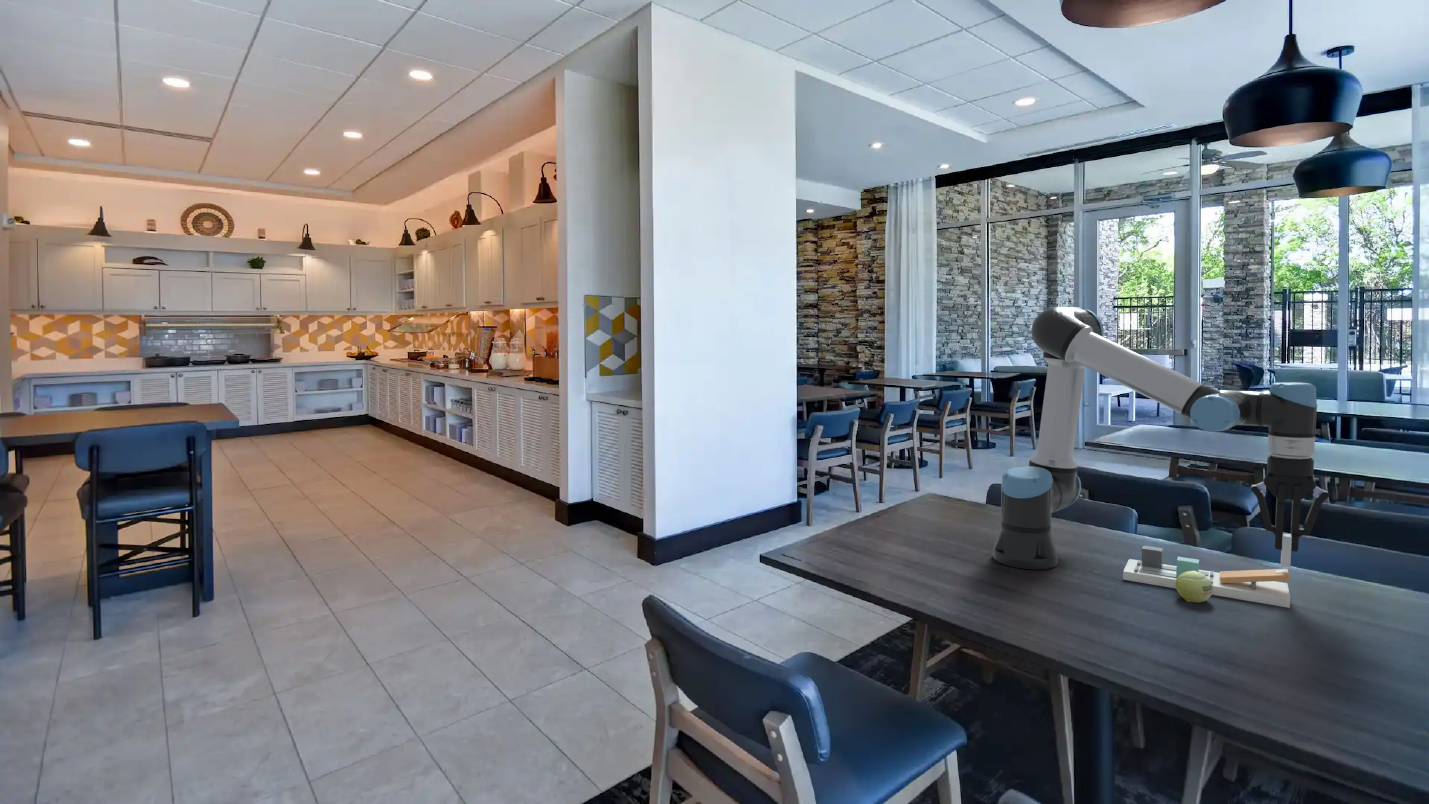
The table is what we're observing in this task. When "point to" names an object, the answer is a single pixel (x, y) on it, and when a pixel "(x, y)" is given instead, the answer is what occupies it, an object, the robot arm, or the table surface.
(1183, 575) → the tennis ball
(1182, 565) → the teal slider
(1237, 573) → the tan block
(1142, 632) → the table surface
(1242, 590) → the panel
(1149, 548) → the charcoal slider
